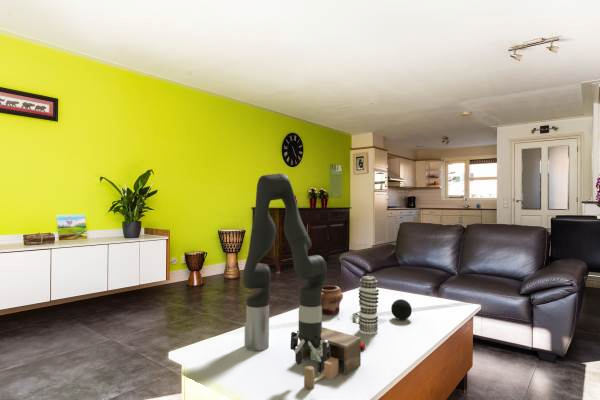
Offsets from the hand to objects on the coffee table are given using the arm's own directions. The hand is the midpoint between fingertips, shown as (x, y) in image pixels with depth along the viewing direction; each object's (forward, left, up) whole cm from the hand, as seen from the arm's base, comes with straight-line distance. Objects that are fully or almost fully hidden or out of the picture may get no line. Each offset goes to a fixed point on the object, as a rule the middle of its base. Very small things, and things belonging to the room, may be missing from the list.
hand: (309, 367), depth 116 cm
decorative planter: (-38, +67, -6) cm, 77 cm away
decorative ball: (-4, +83, -6) cm, 83 cm away
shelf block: (-9, +19, -6) cm, 22 cm away
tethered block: (0, +6, -6) cm, 8 cm away
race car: (-5, +34, -6) cm, 35 cm away
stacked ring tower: (-9, +57, -6) cm, 58 cm away
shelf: (-5, +19, -6) cm, 20 cm away
